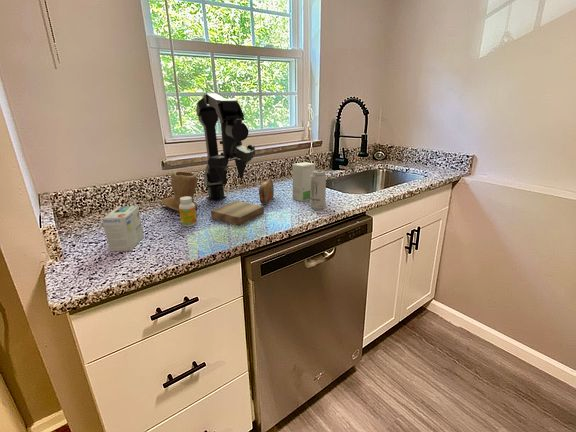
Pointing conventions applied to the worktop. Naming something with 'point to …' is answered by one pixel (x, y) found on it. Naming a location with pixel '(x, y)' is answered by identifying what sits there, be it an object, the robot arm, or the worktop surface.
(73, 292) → the worktop surface
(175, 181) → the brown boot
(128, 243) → the light bulb box
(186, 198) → the supplement bottle
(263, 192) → the tin
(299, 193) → the skincare box
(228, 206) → the walnut base
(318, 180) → the energy drink can
